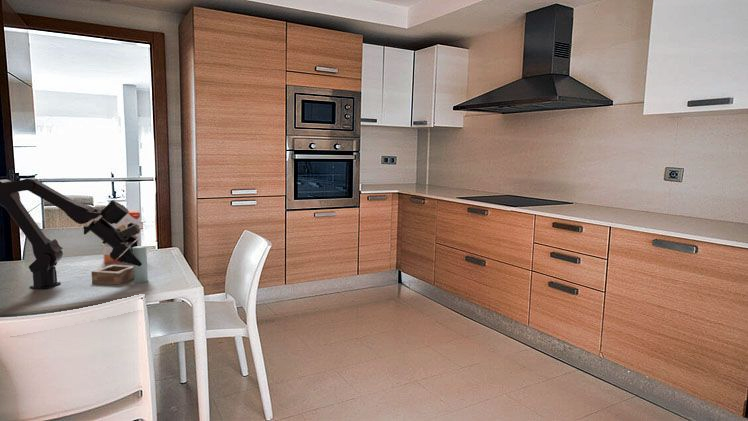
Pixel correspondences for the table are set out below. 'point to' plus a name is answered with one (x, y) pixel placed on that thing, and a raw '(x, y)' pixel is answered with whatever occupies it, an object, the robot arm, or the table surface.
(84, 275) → the table surface
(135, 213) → the cracker box
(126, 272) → the socket base
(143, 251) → the column
